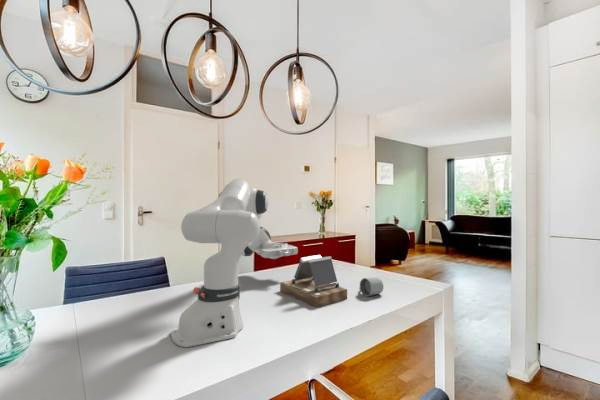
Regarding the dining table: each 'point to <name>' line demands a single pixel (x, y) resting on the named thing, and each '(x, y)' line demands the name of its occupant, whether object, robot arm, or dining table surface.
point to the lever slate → (323, 271)
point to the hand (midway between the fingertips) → (288, 254)
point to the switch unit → (313, 291)
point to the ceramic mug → (371, 286)
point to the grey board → (305, 268)
